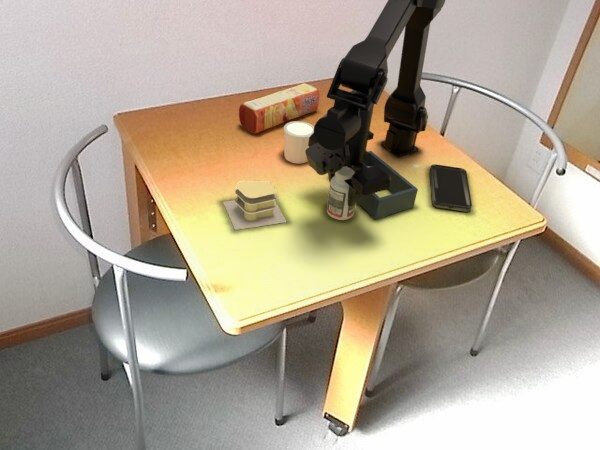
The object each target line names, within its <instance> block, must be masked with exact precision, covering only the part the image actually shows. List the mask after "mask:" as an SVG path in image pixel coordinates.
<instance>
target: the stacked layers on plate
mask: <svg viewBox="0 0 600 450" xmlns="http://www.w3.org/2000/svg"><path fill="white" fill-rule="evenodd" d="M234 186H235V188H236V190H234V194H235V195H236V198H235V199H234V200H227V201H223V202H222V203H223V205H224V208H225V209H226V212H227V215H228V216H229V220H230V222H231V224H232V227H233V228H234V230H235V231H238V230H243V229H251V228H257V227H258V228H259V227H264V226H270V225H277V224H285V223H287V220H286V218H285V216H284V215H283V214H284V213H282V210H281V209H280V207H279V205H278V203H277V202H276V201H277V199H278V198H277V196H276V194H277V193H278V191H277V190H276V188H275V186H274V184H273V182H272V181H271V180H251V179H250V180H249V179H245V180H239V181H238V182H237V183H236V184H235V185H234Z"/></svg>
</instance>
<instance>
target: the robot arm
mask: <svg viewBox="0 0 600 450" xmlns="http://www.w3.org/2000/svg"><path fill="white" fill-rule="evenodd" d="M445 3H446V0H387V2H386V4H385V5H384V7H383V9H382V10H381V12H380V13H379V15H378V17H377V18H376V20H375V22H374V24H373V26H372V28H371V29H370V31H369V33H368V34H367V36H366V38H365V39H364V40H362V41H359V42H357V43H356V44H354V45H352V46H351V48H349V51H348V52H347V53H346V55H345V56H344V57H343V58H342V59H341V60H340V61H339V64H338V66H337V68H336V71H335V73H334V76H333V79H332V81H331V83H330V86H329V89H328V91H327V93H326V98H327V99H330V100H333V101H334V102H333V106H331V107H329V108H328V109H327V111H326V113H325V114H324V115H323V116H321V117H320V118H319V119H318V120H316V122H315V124H314V125H313V126H314V133H313V134H312V135H311V136H310V137H309V143H308V146H309V148H307V149H306V151H305V153H306V156H307V160H308V161H307V163H308V164H307V165H308V166H309V167H310V168H312V169H313V171H315V172H316V174H317V175H319V176H325V175H326V174H327V177H328V180H329V181H328V182H330V181H331V179H332V178H333V177H334V176H335V172H337V171H339V170H340V169H342V167H346V168H348V169H349V170H351V169H352V170H353V171H354V172H355V173H354V174H353V176H352V178H351V179H347V180H344V181H345V182H346V183H347V184H348V185H349V192H348V206H349V207H350V206H353V205H354V204H355V203H356V204H357V201H358V199H359V198H360V197H361V196H362V195H370V194H373V193H375V194H377V193H379V192H383V191H385V190H389V187H390V183H391V177H390V176H389V175H388V174H387V173H386V172H385V171H383V170H382V169H381V168H380V167H379V166H377V165H375V166H372V167H370V166H367V165H365V164H364V163H363V160H366V159H369V158H370V153H369V152H368V150H367V146H368V141H370V140H374V136H375V134H374V132H372V131H371V130H370V129H371V123H372V119H373V114H374V113H373V112H374V107H375V105H378V103H379V102H380V101H379V100H380V99H381V97H382V94H383V93H384V90H385V88H386V85H387V83H388V73H389V68H388V66H389V65H388V58H389V56H390V54H391V53H392V51H393V49H394V47H395V45H396V43H398V40H399V38H400V37H401V35H402V33H403V31H404V33H403V41H402V47H401V55H400V63H399V70H398V72H399V73H398V78H397V86H396V87H395V88H394V90H393V91H392V92H391V93H390V94H389V95H388V97H387V99H386V101H385V104H384V108H383V123H388V129H387V130H386V134H385V140H382V141H381V142H380V144H381V146H383V147H384V148H385V149H386V150H388V151H389V152H390V153H391V154H393V155H394V156H395V157H397V158H398V157H402V156H406V155H410V154H414V153H417V152H419V151H420V149H419V147H418V146H416V142H417V137H418V134H420V133H421V132H425V131H426V129H427V125H428V120H429V115H428V110H427V108H426V107H425V106H426V94H425V93H424V90H423V89H422V88H423V87H422V86H421V81H422V77H423V76H422V75H423V70H424V63H425V58H426V52H427V46H428V40H429V33H430V27H431V24H432V22H433V21H434V19H435V18H436V17H437V16H438V15H439V13H440V12H441V11H442V8H443V7H444V6H445ZM340 86H342V87H343V88H346V89H349V90H350V91H347V90H344V89H341V88H340ZM356 204H355V205H356Z"/></svg>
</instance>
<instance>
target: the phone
mask: <svg viewBox="0 0 600 450" xmlns="http://www.w3.org/2000/svg"><path fill="white" fill-rule="evenodd" d="M429 176H430V177H429V180H430V181H429V182H430V195H431V205H432V206H433V207H435V208H436V209H443V210H448V211H449V210H450V211H457V212H464V213H468V212H471V211H472V210H471V209H472V206H473V203H472V197H471V191H470V186H469V180H468V178H469V177H468V172H467V170H466V169H465V168H462V167H456V166H449V165H443V164H433V163H432V164H431V165H430V168H429Z"/></svg>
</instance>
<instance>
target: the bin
mask: <svg viewBox="0 0 600 450" xmlns="http://www.w3.org/2000/svg"><path fill="white" fill-rule="evenodd" d="M367 152H369V153H370V158H369V159H366V160H363V163H364V164H365V165H367V166H370V167H372V166H375V165H377V166H379V167H380V168H381V169H382V170H383V171H385V172H386V173H387V174H388V175H389V176H390V177H391V183H390V187H389V189H388V190H389V191H390V192H391V194H387V195H385V196H381V197H380V196H379V195H378V194H377V193H373V194H370V195H362V196H361V197H360V198H359V199H358V201H357V202H356V204H358V205H359V206H360V207H362V209H364V211H366V212H367V213H368V214H369V215H370V216H371V217H372V218H373V219H374V220H378V219H382V218H384V217H388V216H390V215H394V214H397V213H400V212H403V211H407V210H410V209H412V208H414V207H415V202H416V199H417V194H418V190H419V189H418V188H417V187H416V186H415V185H414V184H412V183H411V182H410V181H409V180H408V179H406V178H405V177H404V176H402V174H400V173H399V172H397V171H396V169H394V168H393V167H392V166H390V165H389V164H388V163H387V162H386V161H385V160H383V159H382V158H381V157H380V156H378V155H377V154H375V152H373V151H372V150H369V151H368V150H367Z"/></svg>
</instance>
